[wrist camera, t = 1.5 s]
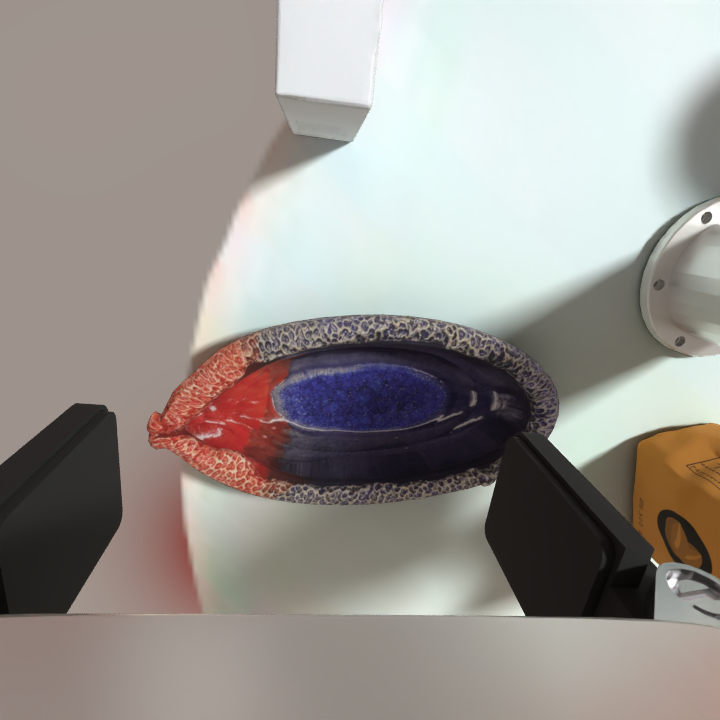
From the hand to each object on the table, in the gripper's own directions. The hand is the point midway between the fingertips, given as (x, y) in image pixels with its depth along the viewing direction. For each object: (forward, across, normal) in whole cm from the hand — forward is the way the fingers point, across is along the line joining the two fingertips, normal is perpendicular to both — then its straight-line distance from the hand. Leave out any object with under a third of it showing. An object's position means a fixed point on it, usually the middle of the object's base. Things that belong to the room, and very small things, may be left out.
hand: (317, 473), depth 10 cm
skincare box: (+24, +1, -13) cm, 27 cm away
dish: (+24, -4, +8) cm, 26 cm away
